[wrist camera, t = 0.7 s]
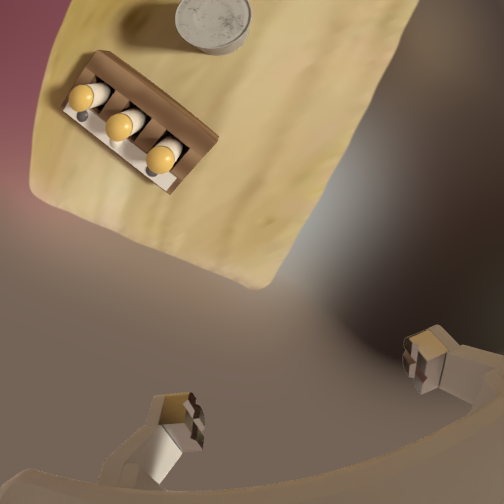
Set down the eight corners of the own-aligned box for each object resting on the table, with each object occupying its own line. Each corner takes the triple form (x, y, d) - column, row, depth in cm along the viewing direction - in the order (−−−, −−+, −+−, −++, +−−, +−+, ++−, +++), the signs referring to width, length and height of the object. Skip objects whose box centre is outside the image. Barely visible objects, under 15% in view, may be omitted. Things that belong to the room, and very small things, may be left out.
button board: (109, 51, 37) (97, 49, 33) (218, 136, 48) (216, 142, 44) (73, 104, 42) (59, 108, 38) (175, 184, 52) (169, 195, 48)
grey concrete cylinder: (203, 64, 41) (192, 60, 30) (181, 19, 36) (163, 3, 25) (258, 43, 39) (264, 32, 29) (235, -3, 34) (234, -26, 24)
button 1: (100, 77, 37) (78, 80, 31) (117, 90, 39) (96, 94, 33) (87, 97, 39) (64, 102, 32) (103, 109, 41) (82, 116, 34)
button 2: (169, 130, 44) (157, 141, 37) (188, 146, 46) (179, 158, 39) (154, 149, 45) (140, 162, 39) (172, 163, 47) (162, 179, 41)
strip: (72, 96, 37) (71, 96, 36) (177, 177, 46) (176, 178, 46) (63, 110, 38) (62, 110, 37) (166, 190, 48) (165, 191, 47)
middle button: (133, 102, 41) (115, 108, 34) (151, 116, 42) (136, 124, 36) (119, 121, 42) (100, 131, 36) (137, 135, 44) (120, 147, 37)
